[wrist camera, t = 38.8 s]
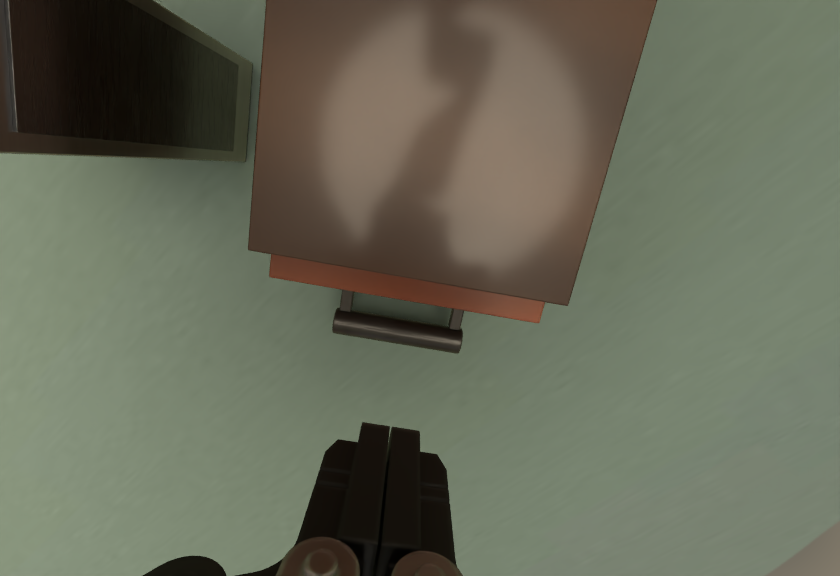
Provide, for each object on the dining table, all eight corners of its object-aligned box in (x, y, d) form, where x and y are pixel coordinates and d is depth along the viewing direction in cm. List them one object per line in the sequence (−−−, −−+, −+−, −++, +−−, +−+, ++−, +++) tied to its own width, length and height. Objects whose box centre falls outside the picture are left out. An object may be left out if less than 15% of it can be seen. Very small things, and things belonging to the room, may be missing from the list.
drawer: (490, 346, 26) (516, 408, 19) (301, 315, 25) (260, 367, 18) (582, -26, 20) (661, -118, 14) (345, -79, 20) (311, -201, 13)
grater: (247, 164, 23) (-282, 152, 6) (123, 140, 23) (-859, 50, 5) (255, 61, 22) (-414, -378, 4) (123, 34, 22) (-1206, -568, 4)
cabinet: (518, 260, 25) (568, 306, 17) (304, 222, 24) (247, 250, 16) (601, -70, 21) (725, -229, 12) (342, -129, 20) (290, -339, 12)
